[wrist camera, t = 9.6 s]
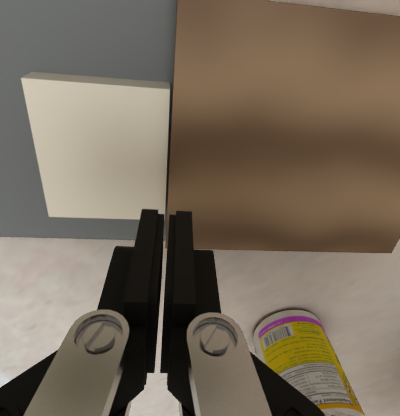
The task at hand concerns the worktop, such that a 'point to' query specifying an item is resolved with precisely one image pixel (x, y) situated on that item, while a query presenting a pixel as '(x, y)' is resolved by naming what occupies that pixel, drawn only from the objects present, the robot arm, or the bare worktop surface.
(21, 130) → the mat
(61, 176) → the tile
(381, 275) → the worktop surface
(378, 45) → the brown wooden flat block
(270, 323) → the supplement bottle
